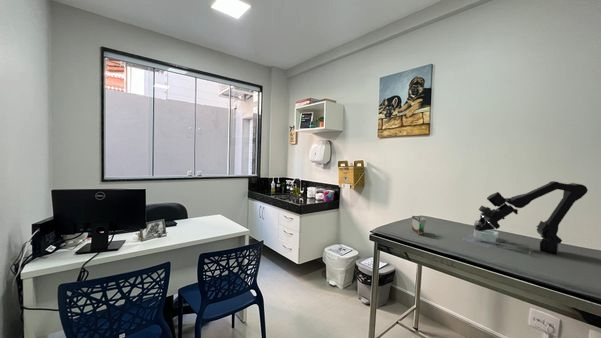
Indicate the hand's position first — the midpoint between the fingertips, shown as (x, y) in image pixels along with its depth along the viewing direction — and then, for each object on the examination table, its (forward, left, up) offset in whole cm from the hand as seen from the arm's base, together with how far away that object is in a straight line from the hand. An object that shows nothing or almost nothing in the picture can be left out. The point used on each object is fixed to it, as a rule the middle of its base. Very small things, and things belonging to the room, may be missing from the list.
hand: (476, 228), depth 148 cm
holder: (-1, -11, -7) cm, 14 cm away
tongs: (0, 0, -7) cm, 7 cm away
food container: (+27, +15, -8) cm, 31 cm away
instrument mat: (-1, -6, -8) cm, 10 cm away
